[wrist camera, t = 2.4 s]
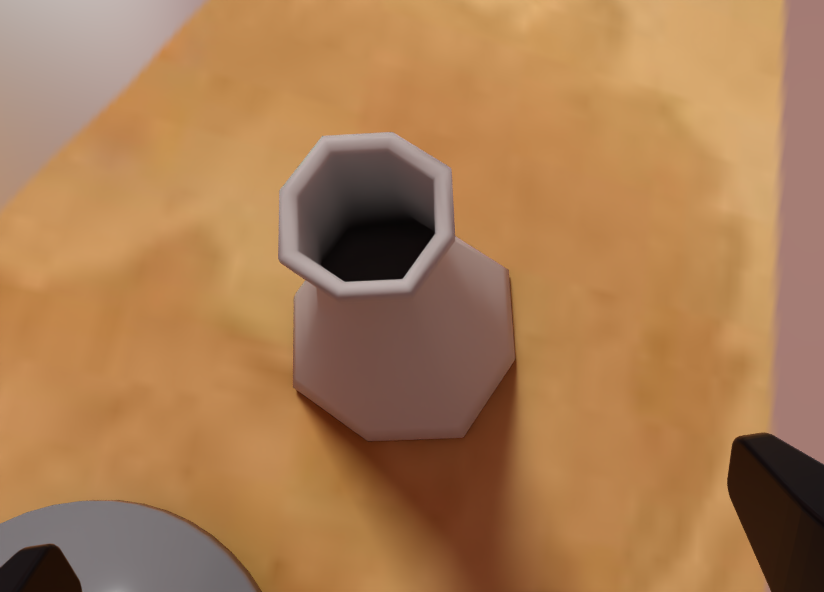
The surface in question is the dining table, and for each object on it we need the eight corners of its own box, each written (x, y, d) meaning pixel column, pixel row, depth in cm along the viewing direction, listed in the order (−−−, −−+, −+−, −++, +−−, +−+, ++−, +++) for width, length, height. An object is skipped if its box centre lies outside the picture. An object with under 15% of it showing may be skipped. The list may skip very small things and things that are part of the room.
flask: (330, 198, 22) (242, -6, 13) (542, 253, 22) (618, 79, 12) (258, 408, 21) (94, 354, 11) (484, 476, 20) (518, 482, 10)
